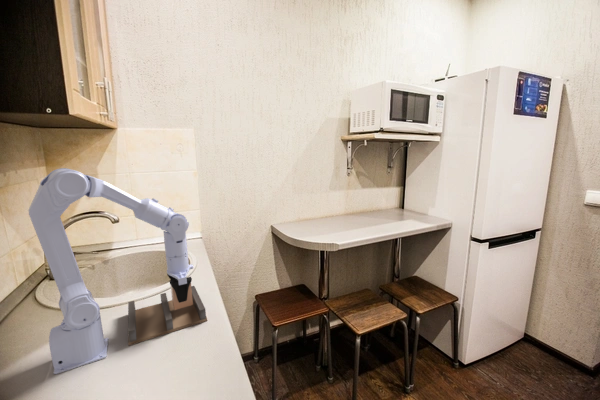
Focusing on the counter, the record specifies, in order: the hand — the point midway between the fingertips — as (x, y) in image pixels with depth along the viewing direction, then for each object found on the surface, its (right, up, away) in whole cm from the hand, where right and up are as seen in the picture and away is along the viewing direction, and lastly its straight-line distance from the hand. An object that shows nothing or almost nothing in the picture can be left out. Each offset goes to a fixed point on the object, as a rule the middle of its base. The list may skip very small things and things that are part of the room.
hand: (181, 297), depth 82 cm
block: (0, -2, +1) cm, 2 cm away
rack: (-4, -5, -1) cm, 7 cm away
